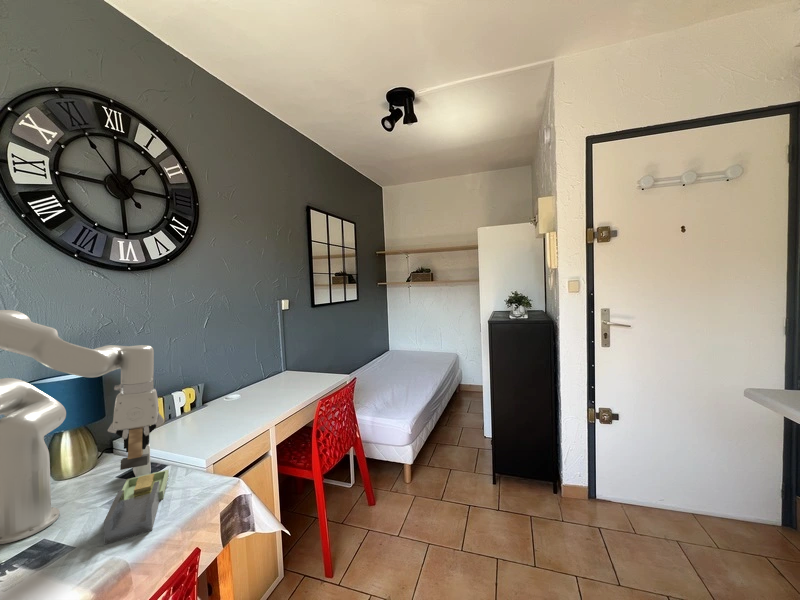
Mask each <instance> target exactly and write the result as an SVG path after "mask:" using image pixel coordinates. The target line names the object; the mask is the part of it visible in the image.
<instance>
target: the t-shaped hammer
mask: <svg viewBox="0 0 800 600" xmlns="http://www.w3.org/2000/svg"><path fill="white" fill-rule="evenodd" d="M143 434H144V427H138V428H132V429H130V430H129V442H128V452H127V457H123V458H122V459H121V460H120V465H119V467H120V468H119V469H120V471H123V470H128V469H133V467H138V466H143V465H147V464H148V463H149V453H148V454H143V449H142V437H143Z"/></svg>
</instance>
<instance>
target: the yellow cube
mask: <svg viewBox="0 0 800 600" xmlns="http://www.w3.org/2000/svg"><path fill="white" fill-rule="evenodd" d="M148 480H153V485H154V482H155V475H154V474H151V473H150V475H145V476H141V477H139V478H138V480H137V482H136V484H137V483H140V482H144V481H148Z"/></svg>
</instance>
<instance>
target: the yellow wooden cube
mask: <svg viewBox="0 0 800 600" xmlns="http://www.w3.org/2000/svg"><path fill="white" fill-rule="evenodd" d="M152 488H153V480H148V481H144V482H140V483H137V484H136V486H135V489H134V497H137V496H141V495H144V494H148V493H151V491H152Z"/></svg>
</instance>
